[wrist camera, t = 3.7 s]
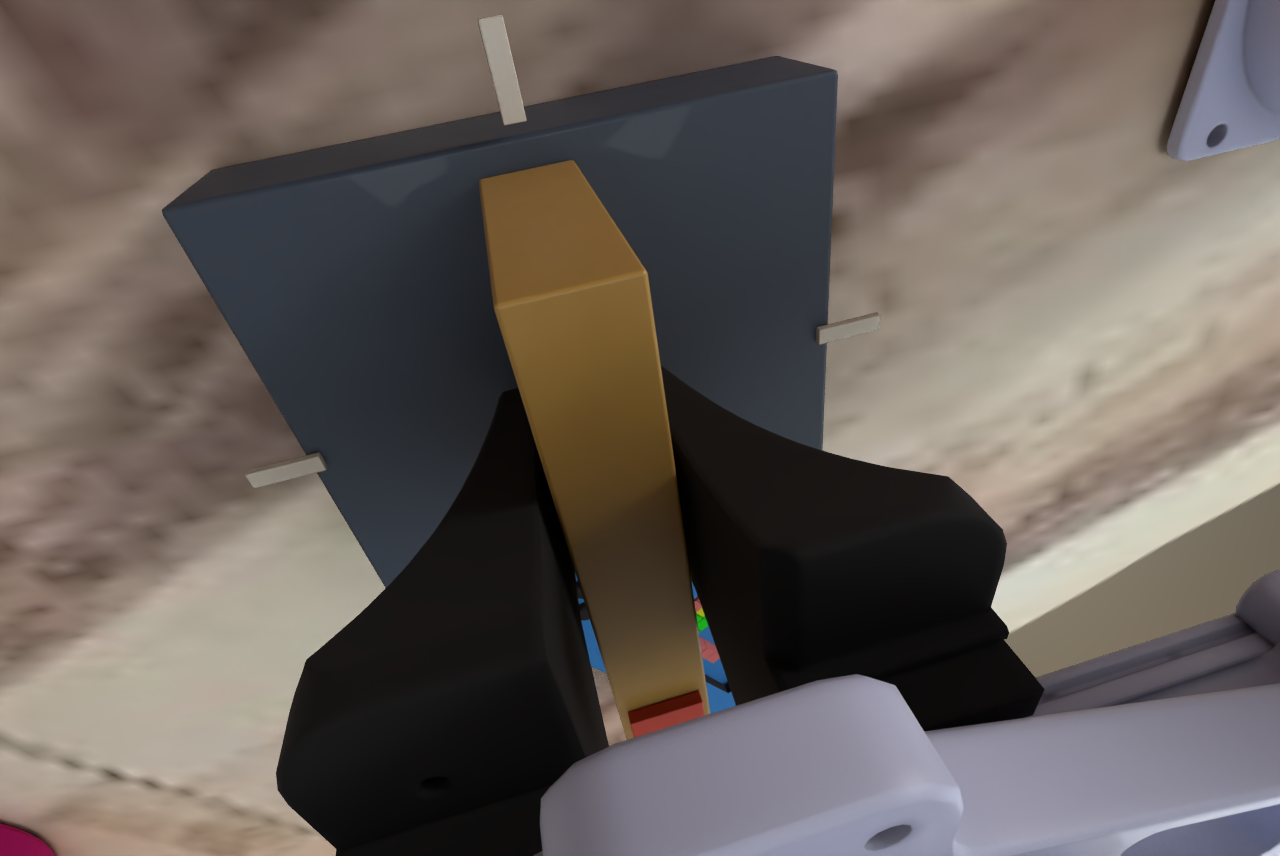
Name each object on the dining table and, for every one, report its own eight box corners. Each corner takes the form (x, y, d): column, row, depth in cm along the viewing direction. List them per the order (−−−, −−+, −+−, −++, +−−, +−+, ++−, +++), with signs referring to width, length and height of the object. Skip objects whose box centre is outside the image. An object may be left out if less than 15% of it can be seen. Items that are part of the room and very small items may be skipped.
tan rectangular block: (477, 178, 10) (493, 316, 6) (574, 158, 10) (654, 278, 6) (585, 552, 16) (632, 760, 11) (647, 535, 16) (715, 734, 12)
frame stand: (85, 83, 10) (-9, 109, 8) (834, -55, 12) (917, -63, 10) (389, 592, 18) (380, 672, 16) (815, 474, 20) (859, 533, 18)
